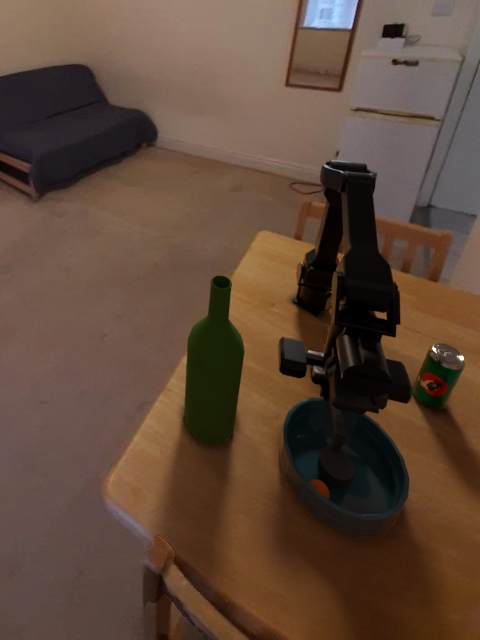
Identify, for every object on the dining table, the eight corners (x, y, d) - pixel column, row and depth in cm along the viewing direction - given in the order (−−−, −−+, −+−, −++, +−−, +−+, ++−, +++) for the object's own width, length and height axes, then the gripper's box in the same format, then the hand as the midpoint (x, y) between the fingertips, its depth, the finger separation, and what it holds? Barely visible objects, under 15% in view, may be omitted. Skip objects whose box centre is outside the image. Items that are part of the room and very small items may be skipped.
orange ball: (313, 474, 63) (303, 492, 62) (313, 473, 61) (303, 491, 60) (333, 492, 61) (323, 510, 60) (333, 490, 59) (323, 510, 58)
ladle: (353, 493, 61) (364, 467, 58) (319, 482, 62) (327, 456, 59) (337, 395, 74) (345, 370, 71) (308, 388, 76) (315, 363, 72)
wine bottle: (236, 403, 75) (254, 267, 61) (232, 453, 68) (251, 311, 54) (188, 389, 78) (195, 256, 64) (179, 436, 71) (185, 296, 56)
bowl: (257, 459, 67) (261, 440, 64) (314, 398, 76) (320, 378, 73) (364, 572, 54) (374, 552, 52) (418, 482, 63) (429, 462, 61)
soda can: (450, 413, 72) (473, 368, 67) (418, 408, 73) (439, 363, 68) (436, 387, 77) (457, 343, 71) (406, 382, 78) (424, 339, 72)
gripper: (287, 365, 58) (274, 431, 65) (440, 400, 53) (408, 468, 60) (284, 308, 68) (272, 371, 75) (413, 333, 62) (388, 398, 69)
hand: (330, 400), depth 69 cm, fingers closed on ladle
